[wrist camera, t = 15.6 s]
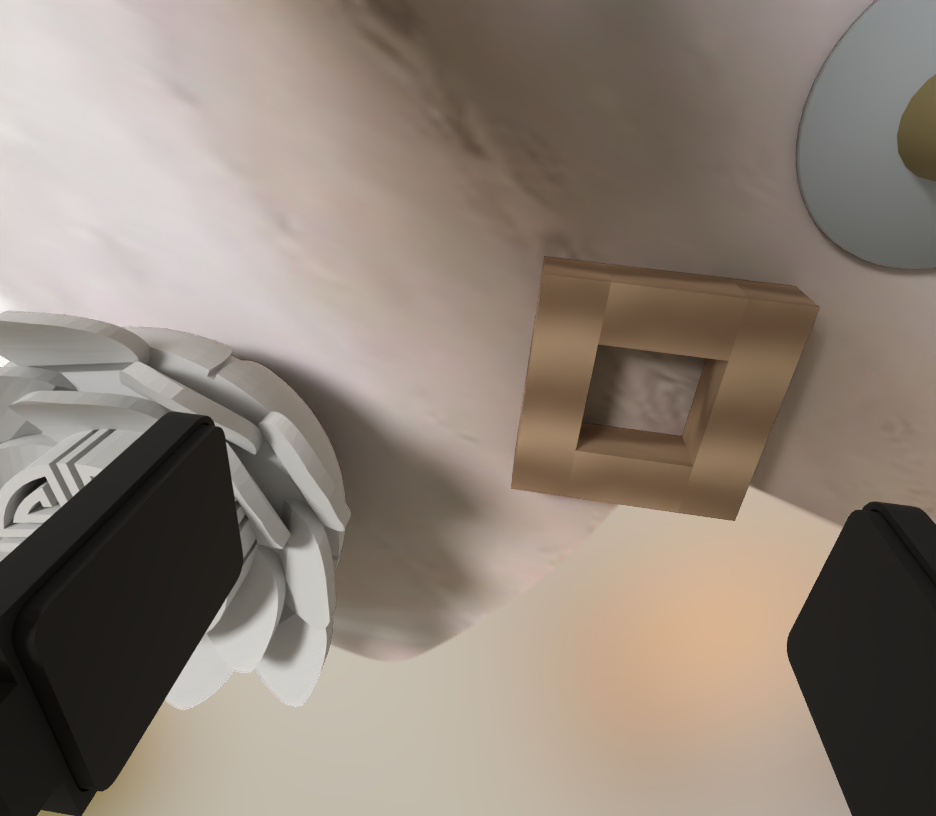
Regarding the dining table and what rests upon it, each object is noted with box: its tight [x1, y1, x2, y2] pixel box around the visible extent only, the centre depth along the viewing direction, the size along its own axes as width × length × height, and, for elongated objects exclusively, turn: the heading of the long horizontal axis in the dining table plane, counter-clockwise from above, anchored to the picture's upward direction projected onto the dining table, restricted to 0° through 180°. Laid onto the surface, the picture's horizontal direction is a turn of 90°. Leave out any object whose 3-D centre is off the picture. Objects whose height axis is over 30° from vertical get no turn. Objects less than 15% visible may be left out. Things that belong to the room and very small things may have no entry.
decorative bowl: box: [0, 311, 351, 710], centre depth 42 cm, size 30×30×15 cm
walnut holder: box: [511, 256, 820, 521], centre depth 41 cm, size 16×16×4 cm
